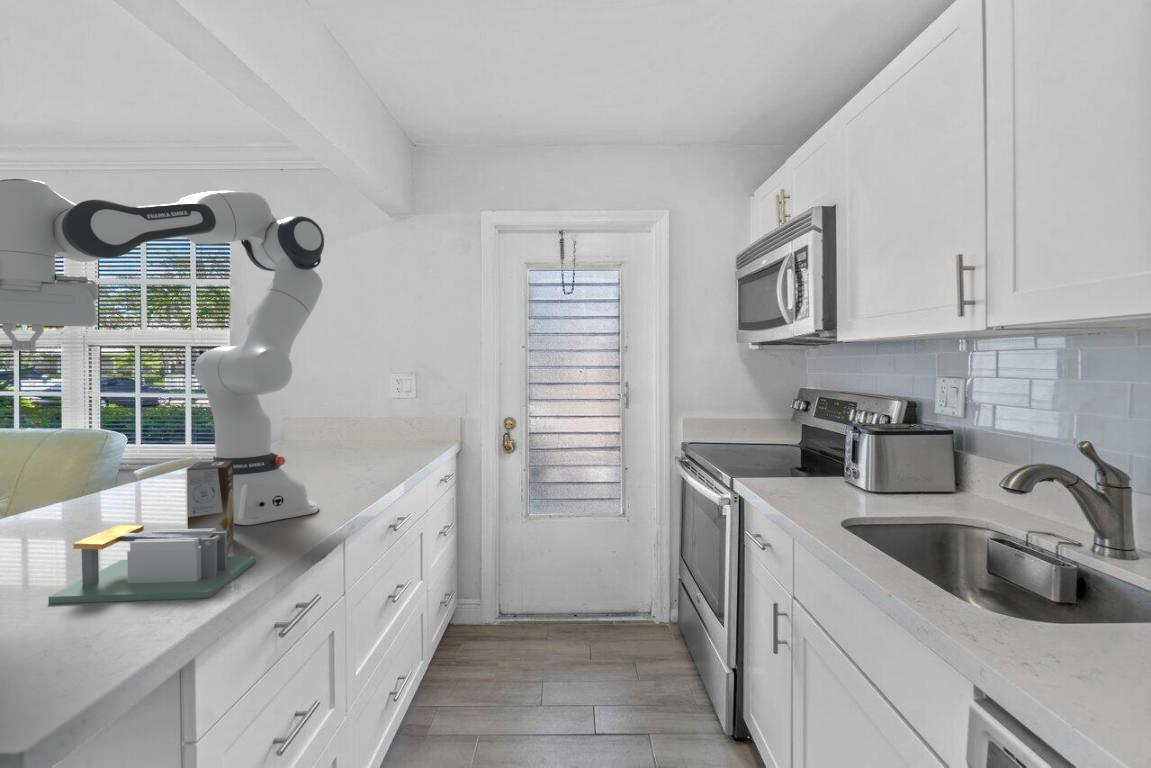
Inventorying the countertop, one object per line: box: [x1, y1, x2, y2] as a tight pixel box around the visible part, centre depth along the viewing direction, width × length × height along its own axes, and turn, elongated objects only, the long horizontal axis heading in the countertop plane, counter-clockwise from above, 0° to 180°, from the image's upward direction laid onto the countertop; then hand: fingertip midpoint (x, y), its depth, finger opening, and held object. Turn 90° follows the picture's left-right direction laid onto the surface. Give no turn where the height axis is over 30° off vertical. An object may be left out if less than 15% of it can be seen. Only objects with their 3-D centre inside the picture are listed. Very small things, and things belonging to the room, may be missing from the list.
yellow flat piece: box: [73, 524, 212, 550], centre depth 93 cm, size 17×10×1 cm, turn 97°
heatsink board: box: [47, 528, 257, 605], centre depth 94 cm, size 22×16×7 cm
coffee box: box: [186, 460, 235, 551], centre depth 110 cm, size 9×6×16 cm
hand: (24, 350), depth 103 cm, fingers closed
